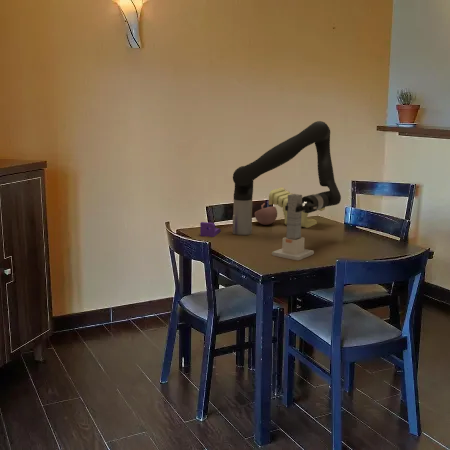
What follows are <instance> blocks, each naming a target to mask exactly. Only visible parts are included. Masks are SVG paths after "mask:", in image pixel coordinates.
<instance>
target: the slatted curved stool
mask: <svg viewBox="0 0 450 450" xmlns="http://www.w3.org/2000/svg"><path fill="white" fill-rule="evenodd" d="M268 194H269V195H268V206H270V205H271V206H272V205H274V206H275V205H276V206H279V207H280V208H282V211H283V216H284V217H283V218H284V225H285V226H287V211H286V210H285V206H286V205H287V203H288V195H291V194H293V193H291V192H290V191H289V190H286V189H285V188H284V187H283V186H281V187H277V188H274V189H272V190H270V191H269V193H268ZM325 210H326V207H324V208H322V209H319V210H318V211H320V212H323V211H325ZM308 215H309V213H304V212H302V215H301V228H307V229H308V228H311V227H312V226H315V225H317V224H318V223H317V222H318V221H317V220H316V219H313V218H311V219H310V218H308Z"/></svg>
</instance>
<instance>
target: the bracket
mask: <svg viewBox="0 0 450 450" xmlns="http://www.w3.org/2000/svg"><path fill="white" fill-rule="evenodd" d="M199 223H200V225H199V226H200V237H208V236H209V237H211V238H215V236H217V235H218V234H220V233H221V231H222V229H221V228H219V227H218V228H217V227H216V224H215V223H214V222H207V221H201V222H199ZM209 237H208V238H209Z"/></svg>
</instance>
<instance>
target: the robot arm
mask: <svg viewBox="0 0 450 450" xmlns="http://www.w3.org/2000/svg"><path fill="white" fill-rule="evenodd" d="M312 144H314V147H315V150H316V153H317V154H316V156H317V157H316V158H317V175H318V182H319V185H320V187H327V188H328V191H327V190H326V191H322V192H319V193H316V194H314V193H313V194H308V195H306V196H302V205H301V206H298V207H296V212H300V211H302V212H304V213H308V214H309V213H310V214H311V213H314V212H317V211H320V210H319V209H322V208H324V207H325V208H327V207H331V206H336V205H337V206H338V205H339V204H340V203H341V199H342V196H341V193H340V191H339V188H338V186H337V183H336V181H335V175H334V168H333V162H332V155H331V128H330V127H329V126H328V124H327V123H326V122H324V121H321V120H317V121H315V122H312V123H311V124H310V125H309V126H307V127H306V128H304V129H303V130H302V131H300V132H299V133H297V134H296V135H293V136H292V137H290V138H288V139H286V140H284V141H282V142H280V143H279V144H277V145H275V146H273V147H272V148H270V149H269V150H267V151H266V152H265V153H263V154H262V155H261V156H259V157H258V158H257V159H255V160H254V161H253V162H250V163H248V164H246V165H242V166H239V167H238V168H236V169H235V171H234V172H233V175H232V180H233V183H234V190H233V213H232V214H233V215H232V234H233V235H237V236H248V235H251V234H252V232H253V194H254V180H256V179H257V178H258V177H260V176H262V175H263V174H265V173H268V172H270V171H272V170H274V169H277V168H278V167H280V166H281V167H282V165H285V164H286V163H288V162H290V161H291V160H293V158H295V157H296V156H297V155H299V153H300V152H302V151H303V150H304V149H306V148H307V147H308V146H310V145H312ZM287 205H288V203H287ZM287 205H286V206H285V210H286V211H287V208H288V206H287Z"/></svg>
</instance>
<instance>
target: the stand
mask: <svg viewBox="0 0 450 450" xmlns="http://www.w3.org/2000/svg"><path fill="white" fill-rule="evenodd" d="M281 245H282V248H280V249H276V250H274V251H272V252H271V254H272V255H271V256H274V257H277V258H279V257H280V258H284V259H289V260H293V261H297V262H298V261H301V260H304V259H306V258H308V257H310V256H313V255H314V253H315V250H311V249H306V248H305V237H303V236H301V238H300V239H297V240H293V239H288V238H287V236H285V237H282V244H281Z"/></svg>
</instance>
